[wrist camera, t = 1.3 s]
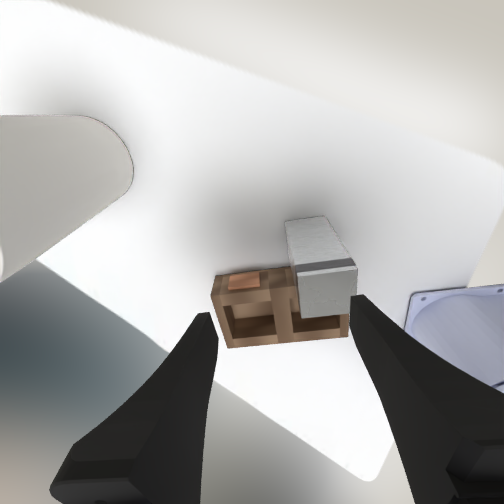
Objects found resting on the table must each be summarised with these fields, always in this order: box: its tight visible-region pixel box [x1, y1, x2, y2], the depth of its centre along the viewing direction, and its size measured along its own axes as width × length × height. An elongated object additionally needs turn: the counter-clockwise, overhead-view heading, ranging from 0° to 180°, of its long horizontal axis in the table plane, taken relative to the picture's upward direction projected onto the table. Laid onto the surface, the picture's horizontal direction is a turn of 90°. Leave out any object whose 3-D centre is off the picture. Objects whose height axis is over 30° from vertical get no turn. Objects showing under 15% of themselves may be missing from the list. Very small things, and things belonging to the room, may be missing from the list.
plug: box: [285, 216, 358, 318], centre depth 18 cm, size 3×3×8 cm
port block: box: [211, 266, 349, 348], centre depth 24 cm, size 12×7×3 cm, turn 100°
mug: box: [0, 115, 133, 283], centre depth 14 cm, size 10×7×12 cm, turn 139°
